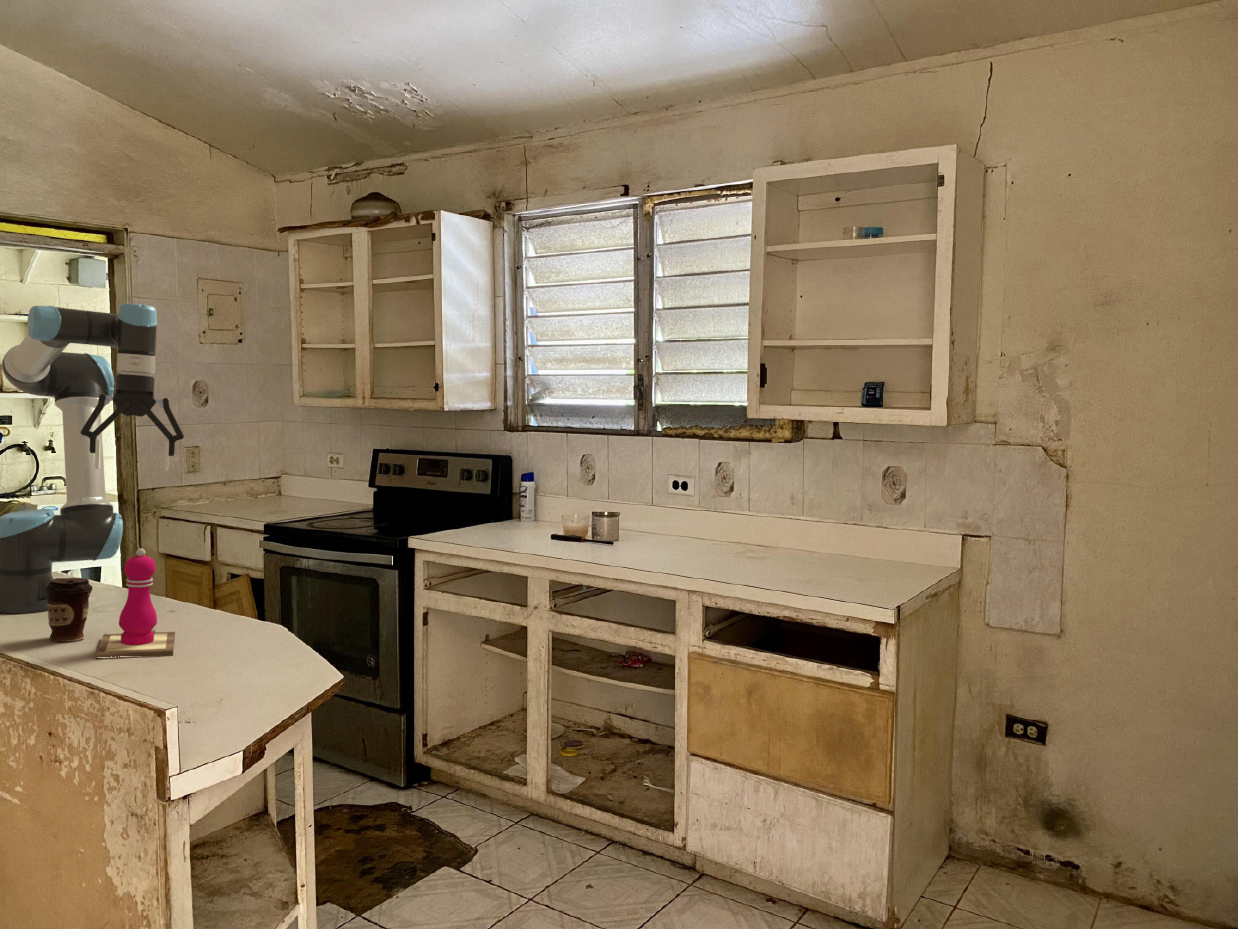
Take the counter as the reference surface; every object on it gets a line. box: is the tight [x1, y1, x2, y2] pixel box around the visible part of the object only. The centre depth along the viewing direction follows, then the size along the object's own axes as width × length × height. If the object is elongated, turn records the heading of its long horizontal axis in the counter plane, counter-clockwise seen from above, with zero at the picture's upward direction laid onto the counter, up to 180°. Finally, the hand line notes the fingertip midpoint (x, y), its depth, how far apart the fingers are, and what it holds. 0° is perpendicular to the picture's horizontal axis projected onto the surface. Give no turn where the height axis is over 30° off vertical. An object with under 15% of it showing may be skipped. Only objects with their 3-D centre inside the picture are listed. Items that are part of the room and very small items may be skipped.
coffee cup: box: [46, 577, 93, 642], centre depth 196 cm, size 9×8×13 cm
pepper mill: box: [118, 548, 158, 645], centre depth 193 cm, size 7×7×20 cm
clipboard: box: [95, 628, 176, 658], centre depth 194 cm, size 16×14×2 cm
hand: (132, 469), depth 203 cm, fingers open, 13 cm apart
